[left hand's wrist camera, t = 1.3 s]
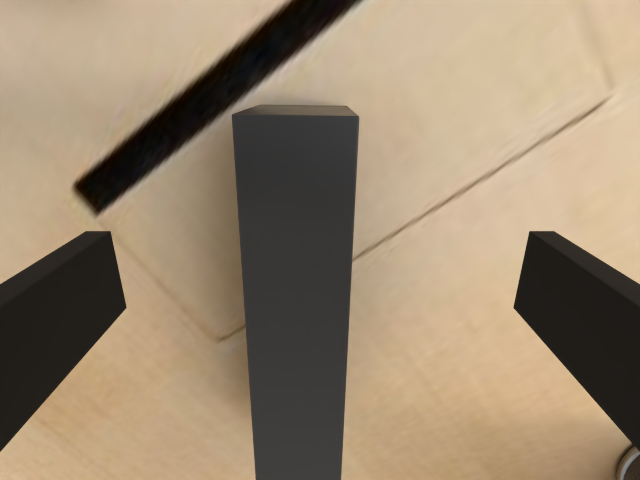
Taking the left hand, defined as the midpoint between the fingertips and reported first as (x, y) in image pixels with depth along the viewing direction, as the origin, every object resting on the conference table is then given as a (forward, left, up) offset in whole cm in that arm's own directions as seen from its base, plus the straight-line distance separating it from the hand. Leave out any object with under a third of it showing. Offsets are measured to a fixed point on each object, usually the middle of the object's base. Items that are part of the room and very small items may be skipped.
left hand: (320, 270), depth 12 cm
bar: (+8, -1, -14) cm, 16 cm away
